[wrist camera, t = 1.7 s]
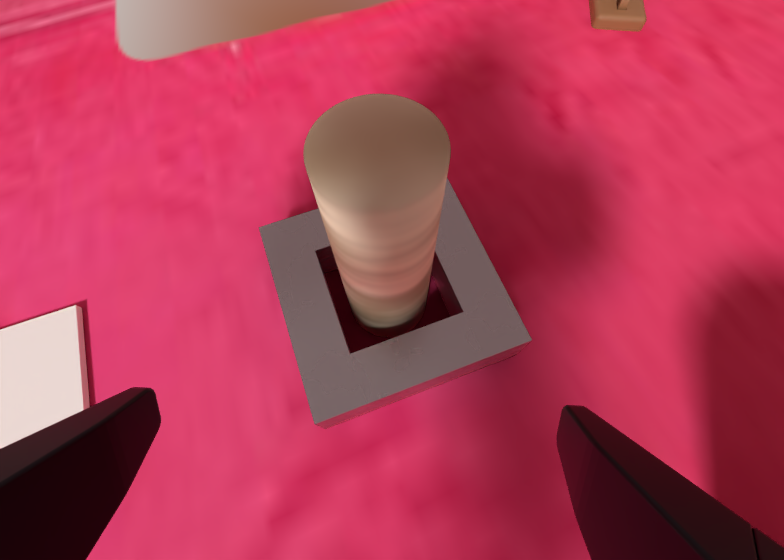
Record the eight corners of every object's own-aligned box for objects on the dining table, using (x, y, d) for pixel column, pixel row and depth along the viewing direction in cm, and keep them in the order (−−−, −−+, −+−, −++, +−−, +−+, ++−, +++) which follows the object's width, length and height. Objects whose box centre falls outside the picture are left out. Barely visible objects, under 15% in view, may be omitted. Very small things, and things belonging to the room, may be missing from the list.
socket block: (516, 354, 23) (532, 340, 20) (325, 428, 22) (314, 424, 19) (438, 198, 27) (442, 168, 24) (273, 252, 26) (258, 227, 23)
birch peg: (437, 321, 24) (475, 182, 12) (364, 348, 23) (328, 231, 11) (409, 257, 26) (417, 78, 14) (340, 280, 25) (287, 116, 13)
